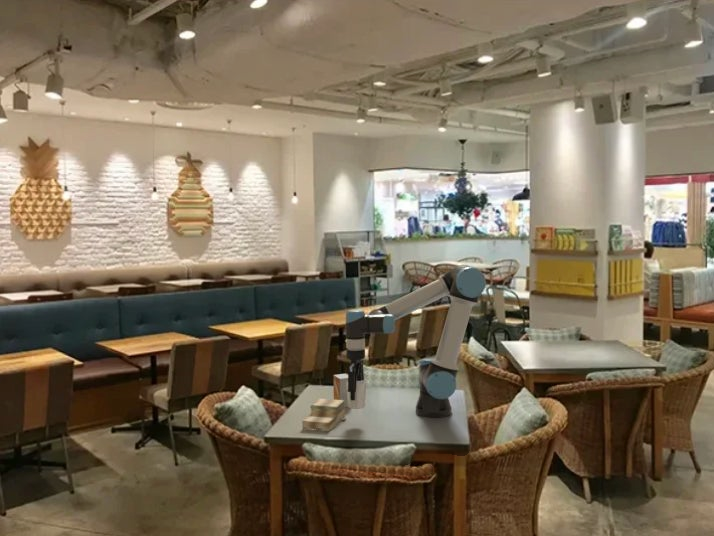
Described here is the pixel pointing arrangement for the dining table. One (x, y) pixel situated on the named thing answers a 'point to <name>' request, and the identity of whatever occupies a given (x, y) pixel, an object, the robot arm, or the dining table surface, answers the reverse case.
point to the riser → (324, 414)
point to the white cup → (358, 394)
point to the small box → (340, 388)
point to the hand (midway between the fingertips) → (356, 404)
